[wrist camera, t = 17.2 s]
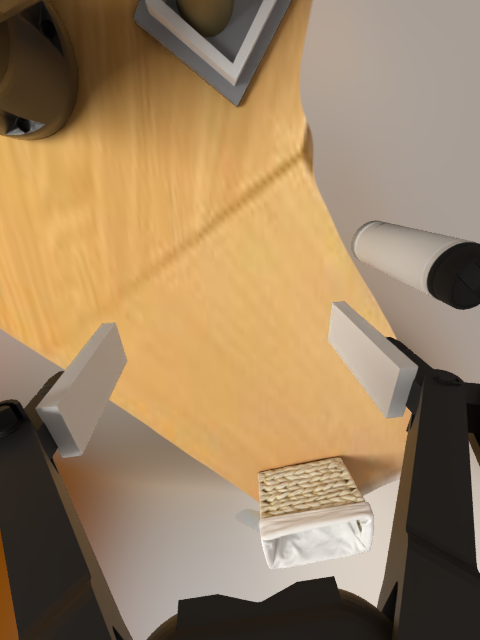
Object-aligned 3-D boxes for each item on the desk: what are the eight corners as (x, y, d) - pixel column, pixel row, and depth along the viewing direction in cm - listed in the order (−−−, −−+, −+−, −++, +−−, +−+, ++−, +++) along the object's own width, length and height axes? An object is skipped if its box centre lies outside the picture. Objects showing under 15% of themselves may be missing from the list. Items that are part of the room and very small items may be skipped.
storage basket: (259, 504, 73) (269, 574, 60) (249, 468, 65) (259, 539, 52) (344, 487, 73) (372, 553, 60) (344, 449, 65) (377, 515, 52)
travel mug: (369, 210, 40) (496, 231, 22) (397, 235, 42) (532, 273, 24) (341, 246, 42) (436, 291, 24) (368, 268, 44) (474, 324, 26)
